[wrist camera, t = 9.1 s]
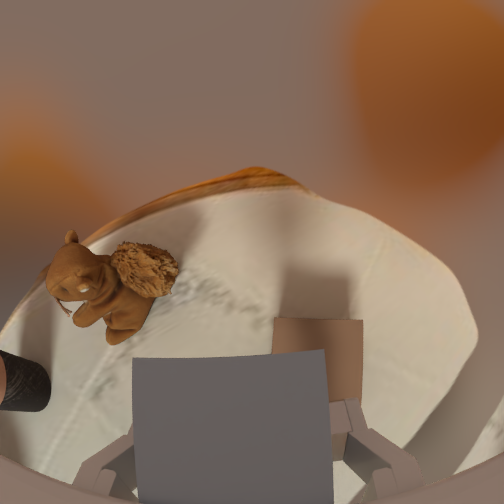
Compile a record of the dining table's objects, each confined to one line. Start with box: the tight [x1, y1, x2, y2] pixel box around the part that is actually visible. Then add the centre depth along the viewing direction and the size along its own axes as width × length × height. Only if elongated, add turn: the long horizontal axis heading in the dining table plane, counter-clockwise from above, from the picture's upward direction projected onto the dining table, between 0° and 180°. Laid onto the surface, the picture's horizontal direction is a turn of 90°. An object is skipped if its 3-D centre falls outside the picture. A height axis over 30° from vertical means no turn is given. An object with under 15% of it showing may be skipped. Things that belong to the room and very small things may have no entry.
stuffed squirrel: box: [46, 230, 179, 345], centre depth 30 cm, size 10×14×13 cm
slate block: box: [132, 349, 334, 504], centre depth 11 cm, size 5×5×10 cm
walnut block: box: [272, 317, 363, 405], centre depth 28 cm, size 8×8×6 cm
